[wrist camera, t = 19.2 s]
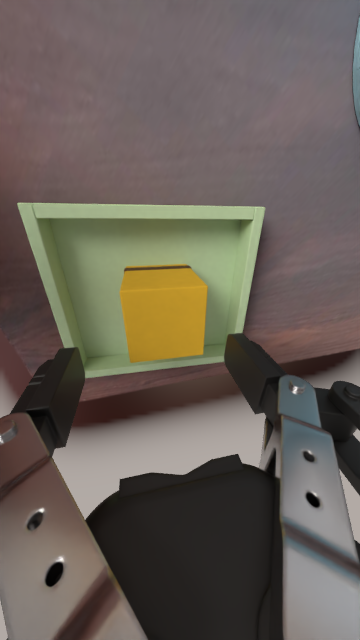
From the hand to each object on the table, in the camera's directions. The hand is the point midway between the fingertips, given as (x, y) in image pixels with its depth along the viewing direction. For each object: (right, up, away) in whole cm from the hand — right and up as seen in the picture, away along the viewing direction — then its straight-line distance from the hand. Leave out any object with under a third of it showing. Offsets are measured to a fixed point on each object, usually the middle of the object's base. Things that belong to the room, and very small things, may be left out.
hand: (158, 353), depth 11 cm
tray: (-1, +4, +7) cm, 8 cm away
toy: (-1, +4, +7) cm, 8 cm away
